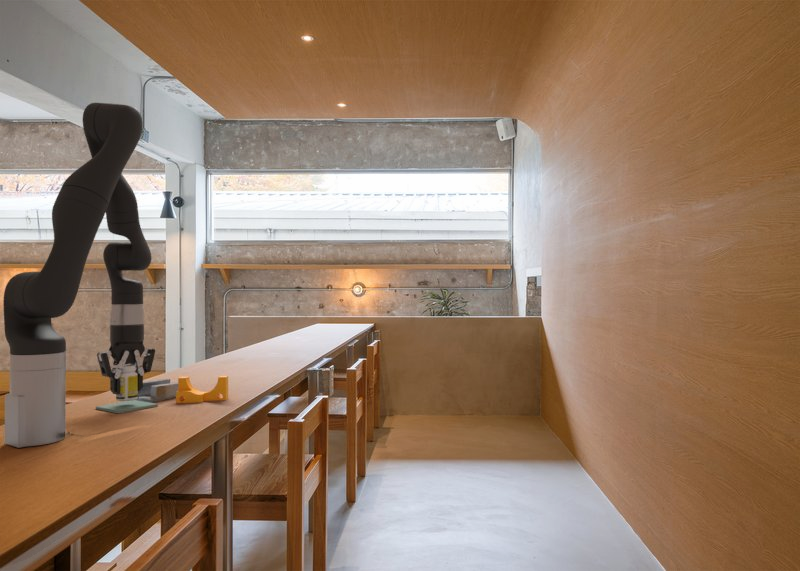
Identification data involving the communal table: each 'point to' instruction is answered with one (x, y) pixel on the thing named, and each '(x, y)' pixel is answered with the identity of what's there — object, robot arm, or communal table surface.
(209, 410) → the communal table surface
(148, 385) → the vise
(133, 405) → the mat
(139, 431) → the communal table surface
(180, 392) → the pipe clamp
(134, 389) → the supplement bottle
